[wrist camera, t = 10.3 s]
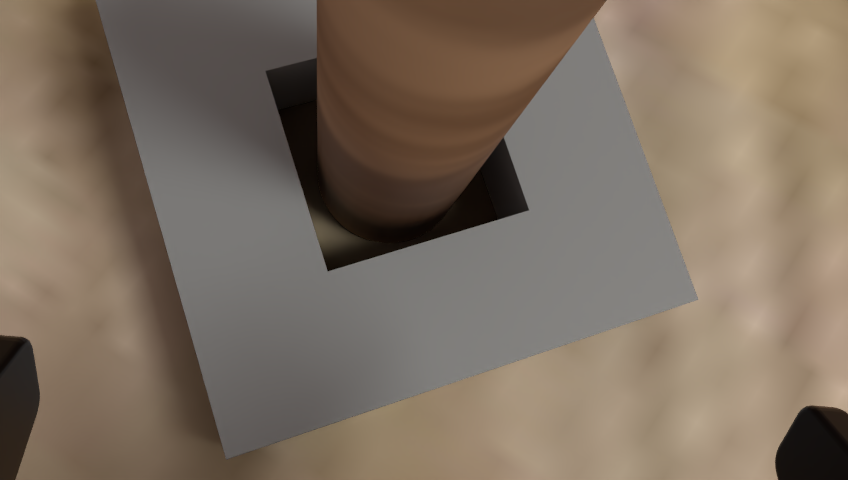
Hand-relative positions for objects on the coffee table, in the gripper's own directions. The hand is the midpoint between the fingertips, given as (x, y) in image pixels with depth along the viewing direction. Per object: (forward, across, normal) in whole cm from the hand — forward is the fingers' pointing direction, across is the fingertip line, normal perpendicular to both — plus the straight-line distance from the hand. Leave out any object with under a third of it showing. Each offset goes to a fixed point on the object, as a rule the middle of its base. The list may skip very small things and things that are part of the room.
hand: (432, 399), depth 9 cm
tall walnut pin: (+13, 0, +4) cm, 14 cm away
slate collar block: (+13, 0, +4) cm, 14 cm away
